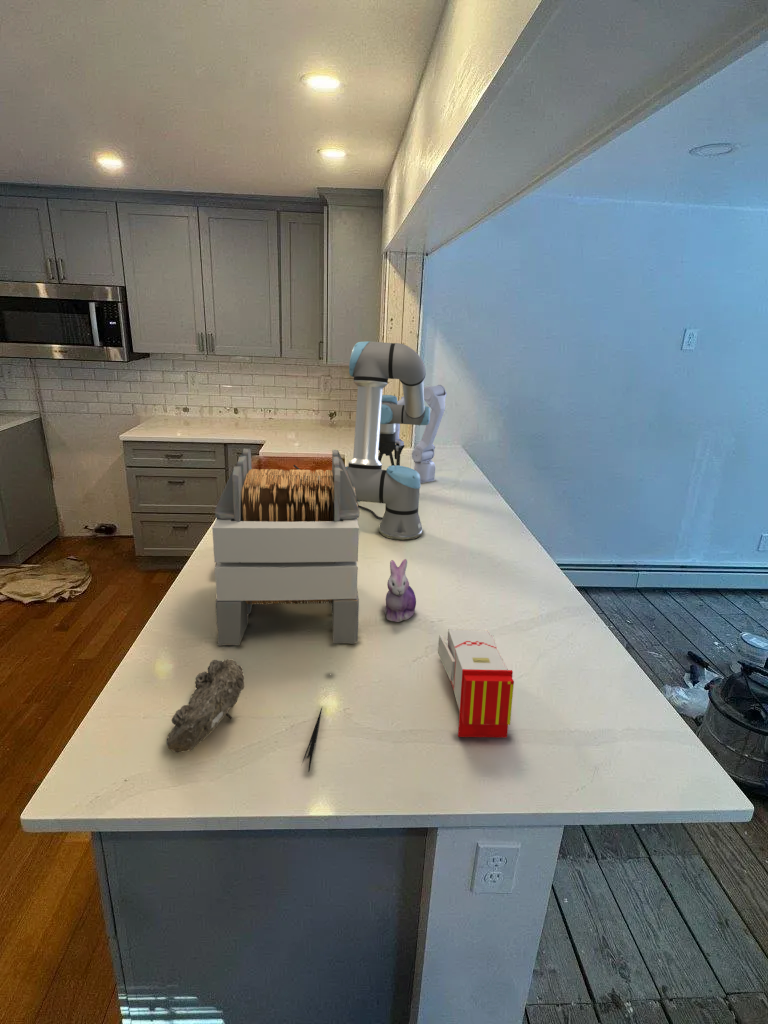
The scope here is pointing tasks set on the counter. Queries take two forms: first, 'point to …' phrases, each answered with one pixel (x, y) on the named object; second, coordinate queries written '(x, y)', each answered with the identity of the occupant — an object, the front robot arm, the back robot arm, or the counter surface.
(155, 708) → the counter surface
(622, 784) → the counter surface
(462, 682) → the toy
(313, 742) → the feather
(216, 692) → the fossil
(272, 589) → the record crate
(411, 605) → the figurine
